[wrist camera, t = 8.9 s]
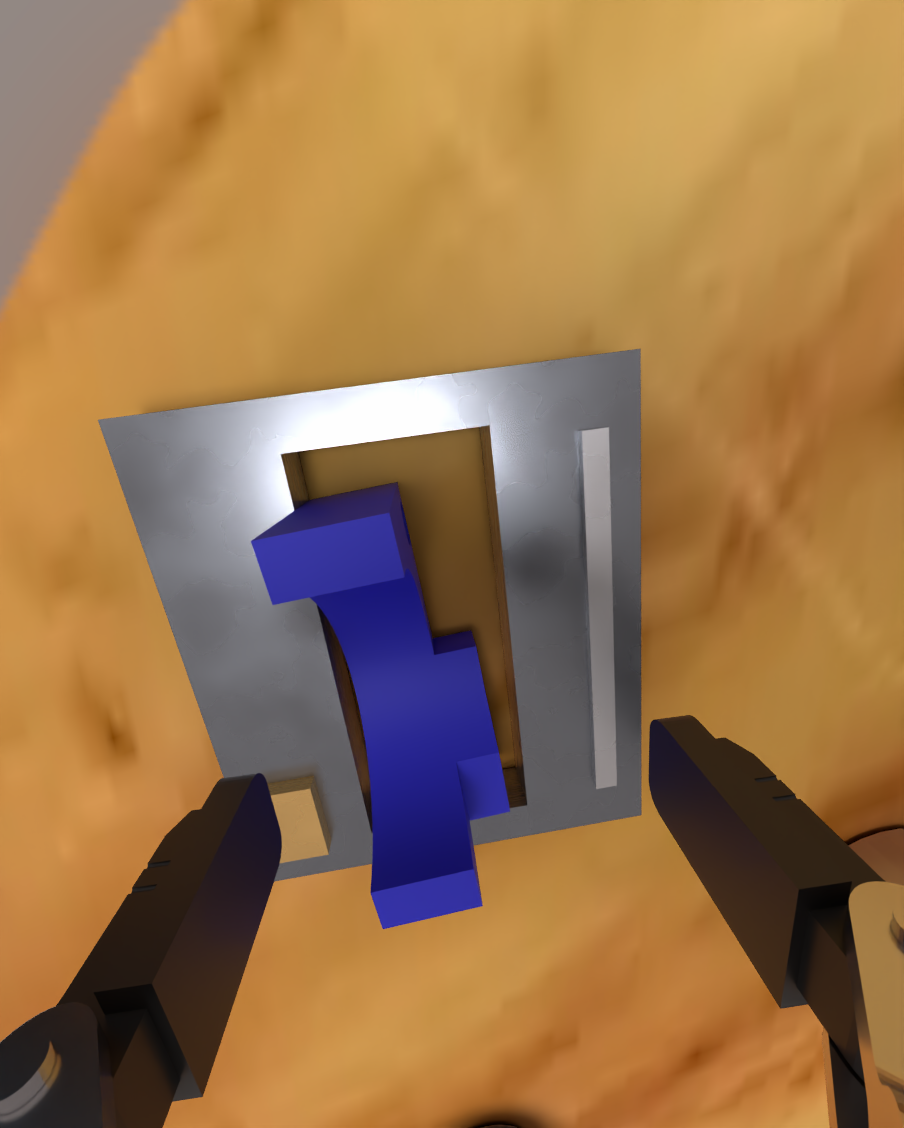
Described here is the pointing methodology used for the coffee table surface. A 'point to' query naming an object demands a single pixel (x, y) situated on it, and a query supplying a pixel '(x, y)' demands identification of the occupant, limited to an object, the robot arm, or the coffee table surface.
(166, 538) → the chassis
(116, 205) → the coffee table surface
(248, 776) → the robot arm
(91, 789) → the coffee table surface
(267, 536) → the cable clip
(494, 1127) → the industrial component
